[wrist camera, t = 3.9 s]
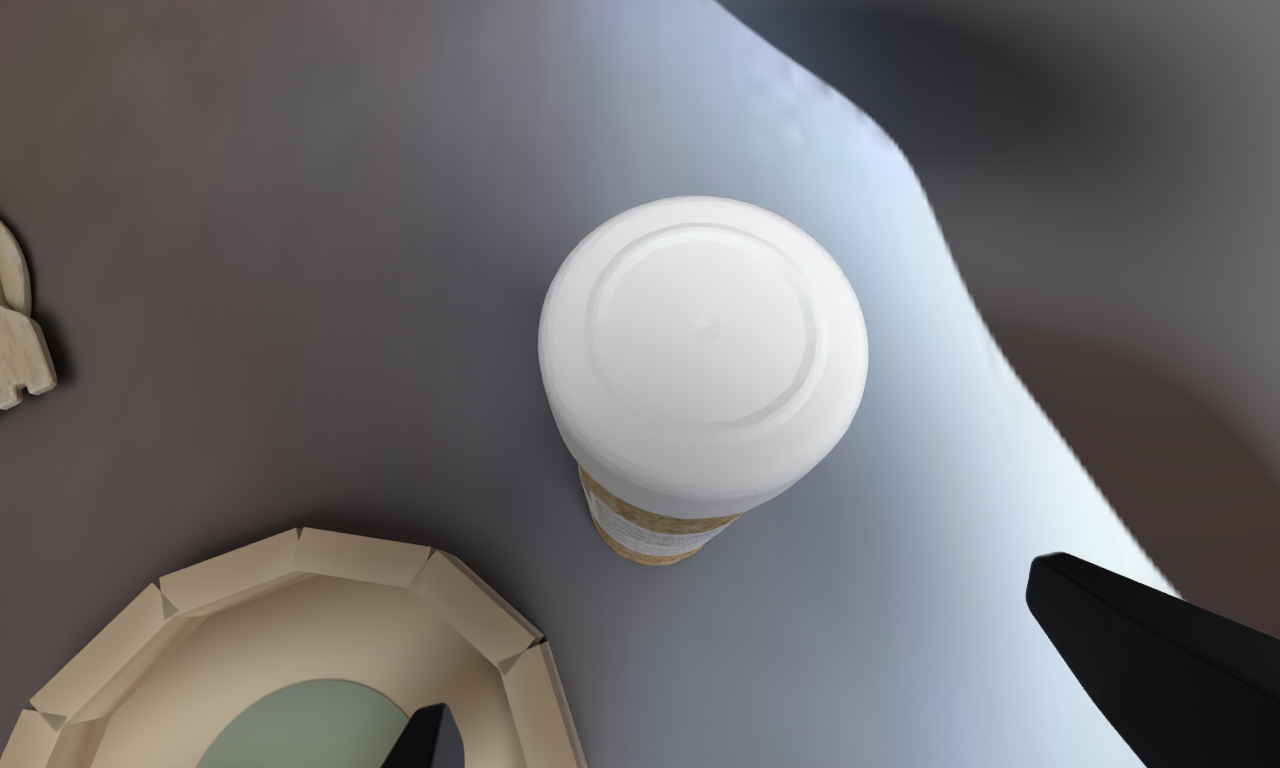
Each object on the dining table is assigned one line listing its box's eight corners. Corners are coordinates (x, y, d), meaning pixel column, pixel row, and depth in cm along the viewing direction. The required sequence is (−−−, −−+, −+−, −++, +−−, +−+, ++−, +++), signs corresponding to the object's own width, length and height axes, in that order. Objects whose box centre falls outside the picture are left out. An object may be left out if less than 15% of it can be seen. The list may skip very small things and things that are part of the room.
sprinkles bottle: (620, 414, 22) (618, 139, 9) (741, 464, 21) (918, 247, 8) (564, 536, 20) (468, 409, 7) (693, 593, 20) (822, 561, 7)
